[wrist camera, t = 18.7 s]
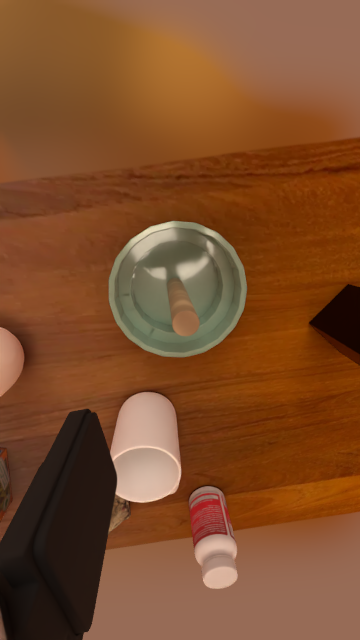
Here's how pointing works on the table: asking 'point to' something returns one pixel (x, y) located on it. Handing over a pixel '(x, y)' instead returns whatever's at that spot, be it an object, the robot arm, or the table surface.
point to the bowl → (199, 281)
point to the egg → (9, 360)
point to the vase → (342, 322)
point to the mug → (146, 448)
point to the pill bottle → (213, 537)
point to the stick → (181, 309)
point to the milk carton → (4, 483)
